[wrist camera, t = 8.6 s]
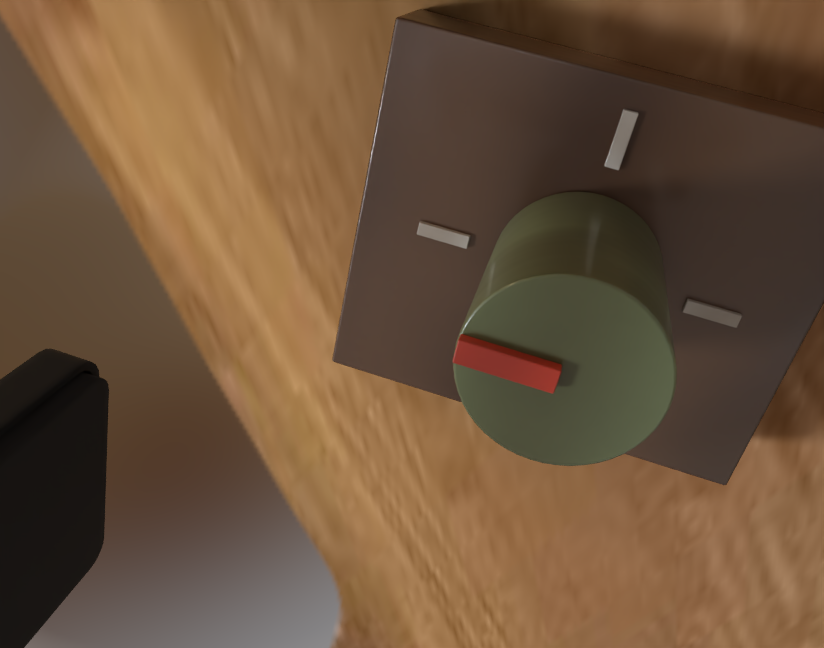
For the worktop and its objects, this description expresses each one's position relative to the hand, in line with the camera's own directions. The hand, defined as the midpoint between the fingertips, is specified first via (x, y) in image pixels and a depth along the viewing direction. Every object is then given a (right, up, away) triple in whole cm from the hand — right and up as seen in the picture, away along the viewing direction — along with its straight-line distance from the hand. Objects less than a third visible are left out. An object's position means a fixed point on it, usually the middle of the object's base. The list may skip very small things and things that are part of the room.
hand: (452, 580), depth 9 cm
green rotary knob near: (+4, +4, +11) cm, 12 cm away
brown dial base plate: (+4, +5, +13) cm, 15 cm away
